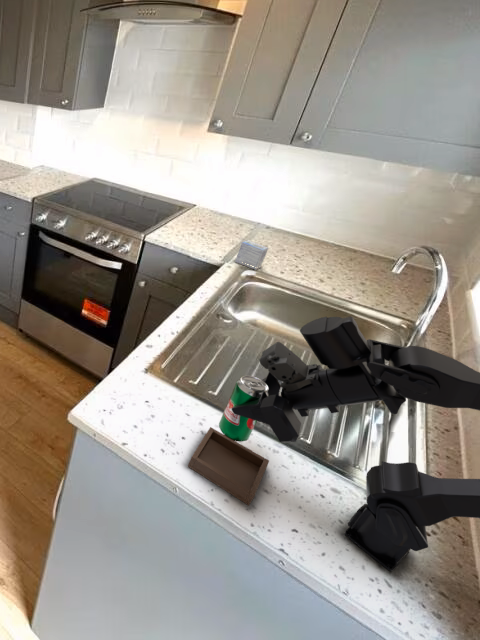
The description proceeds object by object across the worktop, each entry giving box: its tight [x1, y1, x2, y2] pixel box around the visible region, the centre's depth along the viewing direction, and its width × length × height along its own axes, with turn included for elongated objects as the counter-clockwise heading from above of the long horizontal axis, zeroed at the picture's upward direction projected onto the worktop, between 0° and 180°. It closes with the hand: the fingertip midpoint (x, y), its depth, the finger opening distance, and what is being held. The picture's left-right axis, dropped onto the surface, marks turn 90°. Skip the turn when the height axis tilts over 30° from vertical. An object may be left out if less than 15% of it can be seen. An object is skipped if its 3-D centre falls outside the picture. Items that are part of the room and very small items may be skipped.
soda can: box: [218, 375, 269, 443], centre depth 78 cm, size 5×5×12 cm
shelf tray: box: [187, 426, 270, 506], centre depth 81 cm, size 11×11×3 cm
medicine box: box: [234, 239, 269, 271], centre depth 163 cm, size 8×4×9 cm, turn 34°
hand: (236, 402), depth 78 cm, fingers closed on soda can, 5 cm apart
